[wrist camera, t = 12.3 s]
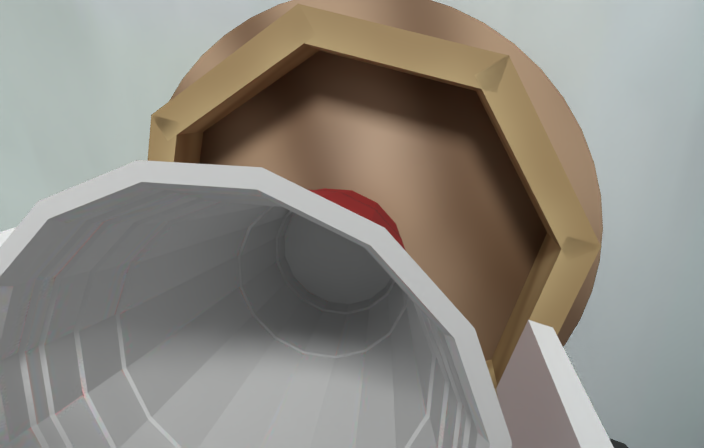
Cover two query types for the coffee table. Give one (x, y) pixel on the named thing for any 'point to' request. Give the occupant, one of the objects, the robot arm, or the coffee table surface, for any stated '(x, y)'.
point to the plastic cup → (229, 321)
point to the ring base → (411, 147)
